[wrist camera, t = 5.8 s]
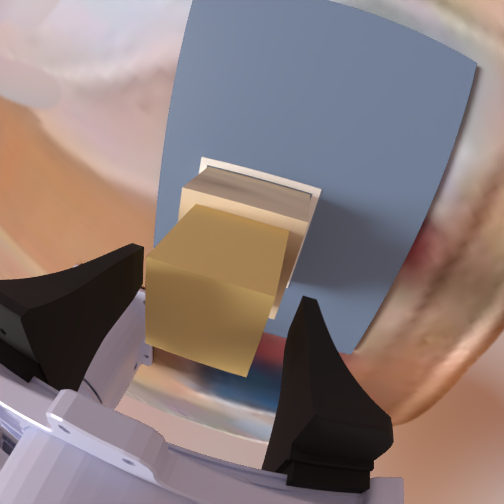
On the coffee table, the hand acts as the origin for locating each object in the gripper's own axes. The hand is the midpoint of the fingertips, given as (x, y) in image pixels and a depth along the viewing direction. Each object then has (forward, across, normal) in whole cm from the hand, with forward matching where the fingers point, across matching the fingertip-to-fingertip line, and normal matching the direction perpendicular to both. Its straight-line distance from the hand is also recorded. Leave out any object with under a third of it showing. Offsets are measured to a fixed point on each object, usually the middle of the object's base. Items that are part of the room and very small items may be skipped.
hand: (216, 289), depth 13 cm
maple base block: (+7, 0, 0) cm, 7 cm away
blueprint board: (+7, -2, -3) cm, 8 cm away
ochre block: (+3, 0, 0) cm, 3 cm away
